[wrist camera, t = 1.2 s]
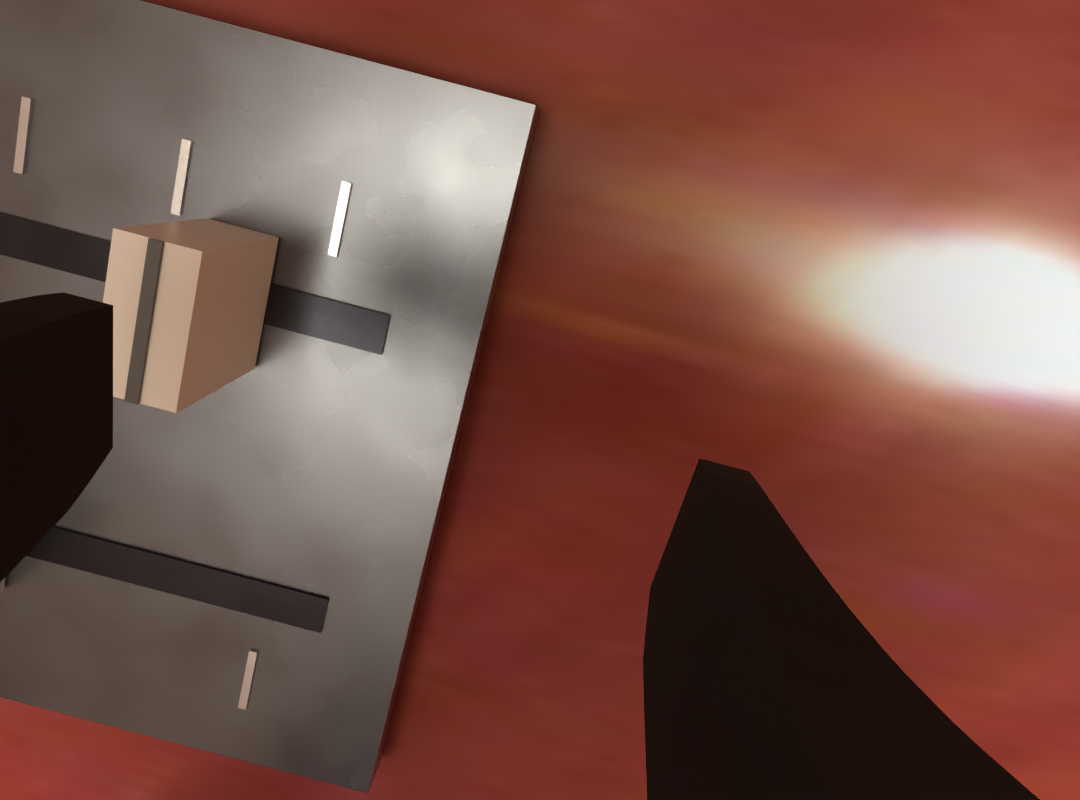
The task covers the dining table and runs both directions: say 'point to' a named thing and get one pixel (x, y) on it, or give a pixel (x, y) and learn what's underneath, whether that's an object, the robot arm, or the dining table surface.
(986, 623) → the dining table surface
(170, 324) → the fader cap ivory
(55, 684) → the mixing console
